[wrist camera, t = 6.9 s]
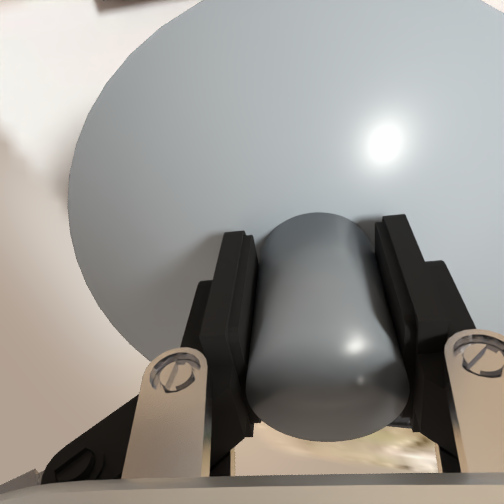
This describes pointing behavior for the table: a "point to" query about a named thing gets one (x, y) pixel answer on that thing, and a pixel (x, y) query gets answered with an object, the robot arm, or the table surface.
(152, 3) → the table surface
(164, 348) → the lid
